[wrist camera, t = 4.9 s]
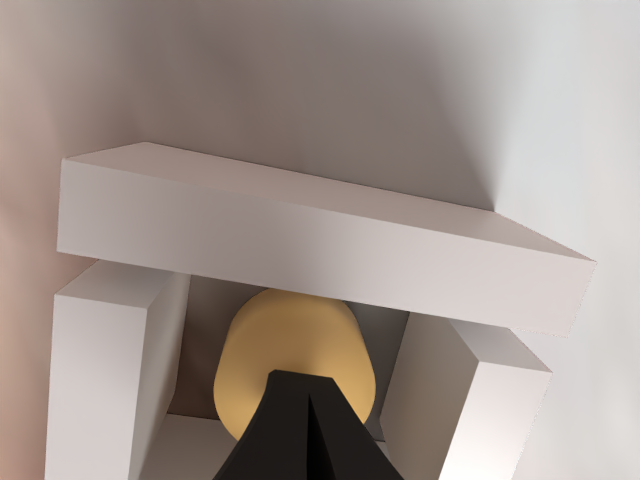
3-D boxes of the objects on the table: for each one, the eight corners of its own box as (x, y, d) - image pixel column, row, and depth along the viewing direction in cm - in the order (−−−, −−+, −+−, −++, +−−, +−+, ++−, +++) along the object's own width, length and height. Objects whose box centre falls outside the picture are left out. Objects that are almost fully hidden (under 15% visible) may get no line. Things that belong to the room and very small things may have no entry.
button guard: (113, 450, 13) (38, 594, 9) (144, 141, 11) (61, 158, 7) (407, 486, 14) (452, 628, 10) (495, 212, 12) (597, 262, 8)
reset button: (217, 395, 12) (203, 449, 10) (237, 273, 11) (226, 306, 9) (345, 412, 12) (355, 467, 11) (376, 296, 11) (393, 333, 10)
